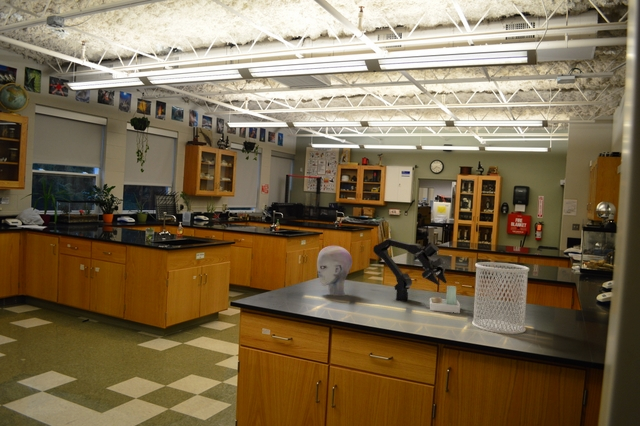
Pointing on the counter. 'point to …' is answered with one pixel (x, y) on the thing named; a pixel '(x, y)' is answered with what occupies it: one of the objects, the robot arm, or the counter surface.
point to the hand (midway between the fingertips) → (442, 283)
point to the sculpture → (334, 268)
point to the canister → (451, 295)
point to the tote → (445, 306)
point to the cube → (437, 300)
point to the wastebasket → (496, 323)
